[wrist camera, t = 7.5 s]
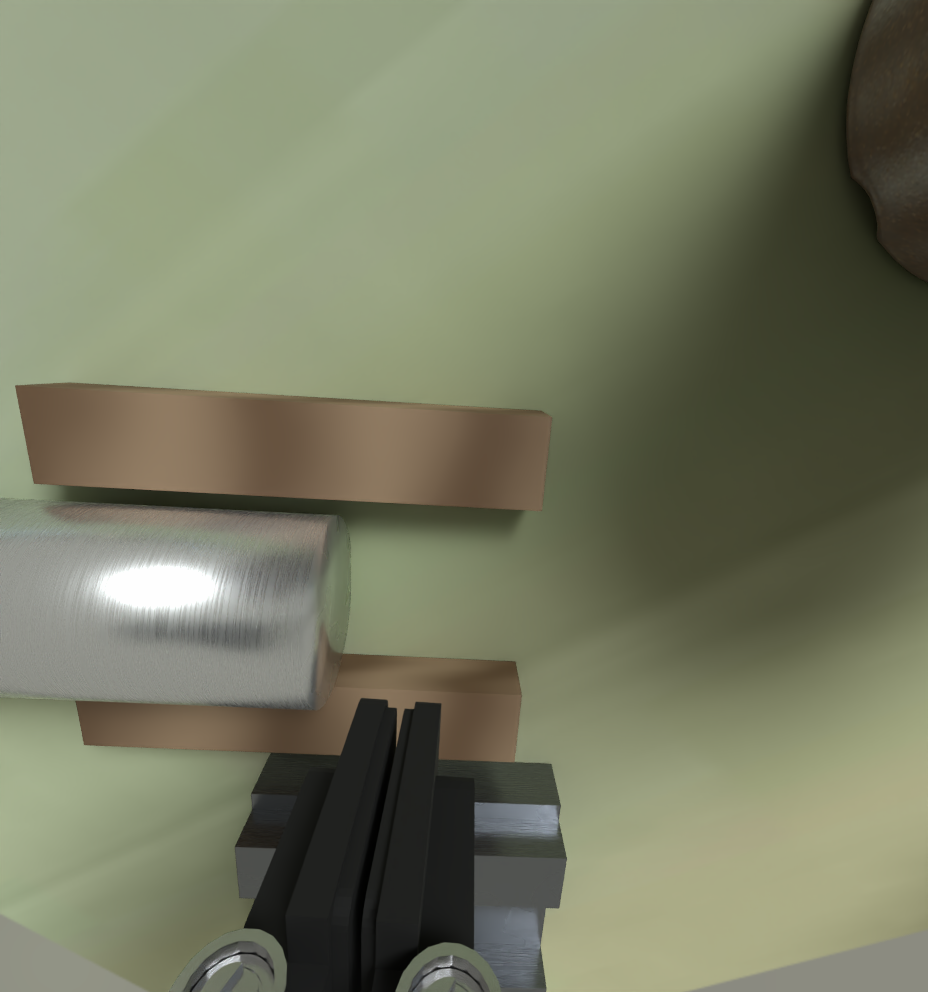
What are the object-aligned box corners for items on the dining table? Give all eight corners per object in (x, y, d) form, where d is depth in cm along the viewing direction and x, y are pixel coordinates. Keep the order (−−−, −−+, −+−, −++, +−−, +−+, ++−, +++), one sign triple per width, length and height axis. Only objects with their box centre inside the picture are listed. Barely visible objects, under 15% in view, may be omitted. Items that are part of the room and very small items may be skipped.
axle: (351, 495, 17) (298, 555, 12) (351, 640, 19) (304, 758, 13) (-97, 471, 17) (-384, 522, 11) (-61, 622, 19) (-298, 735, 13)
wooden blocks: (541, 410, 16) (552, 417, 14) (509, 723, 20) (514, 762, 18) (68, 382, 16) (15, 385, 14) (121, 707, 20) (84, 745, 18)
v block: (551, 764, 21) (569, 843, 17) (526, 943, 24) (538, 1040, 20) (270, 752, 20) (233, 831, 17) (282, 936, 23) (252, 1033, 20)
